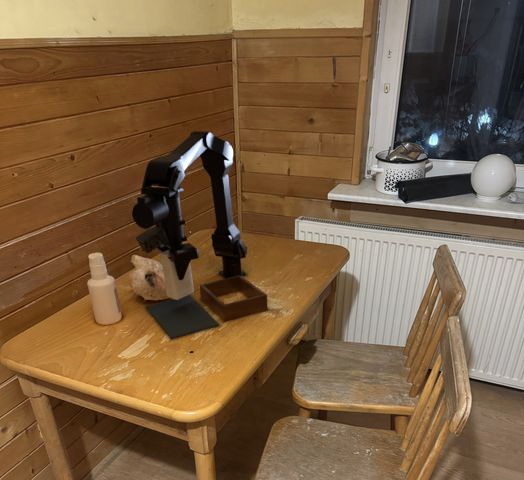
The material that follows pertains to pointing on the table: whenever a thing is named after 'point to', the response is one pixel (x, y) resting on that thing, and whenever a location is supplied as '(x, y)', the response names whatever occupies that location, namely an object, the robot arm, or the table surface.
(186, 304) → the mat
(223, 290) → the crate
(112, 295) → the spray bottle
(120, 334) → the table surface
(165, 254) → the cosmetic box
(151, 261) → the beige seashell
